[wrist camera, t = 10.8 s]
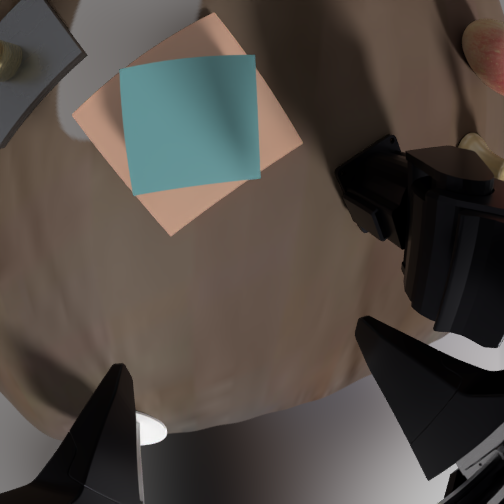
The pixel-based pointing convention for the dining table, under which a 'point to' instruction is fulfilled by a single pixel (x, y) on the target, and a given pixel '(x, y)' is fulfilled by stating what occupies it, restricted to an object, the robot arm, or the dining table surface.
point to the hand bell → (484, 154)
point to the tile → (112, 131)
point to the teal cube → (190, 122)
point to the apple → (486, 51)
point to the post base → (31, 61)
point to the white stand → (147, 440)
